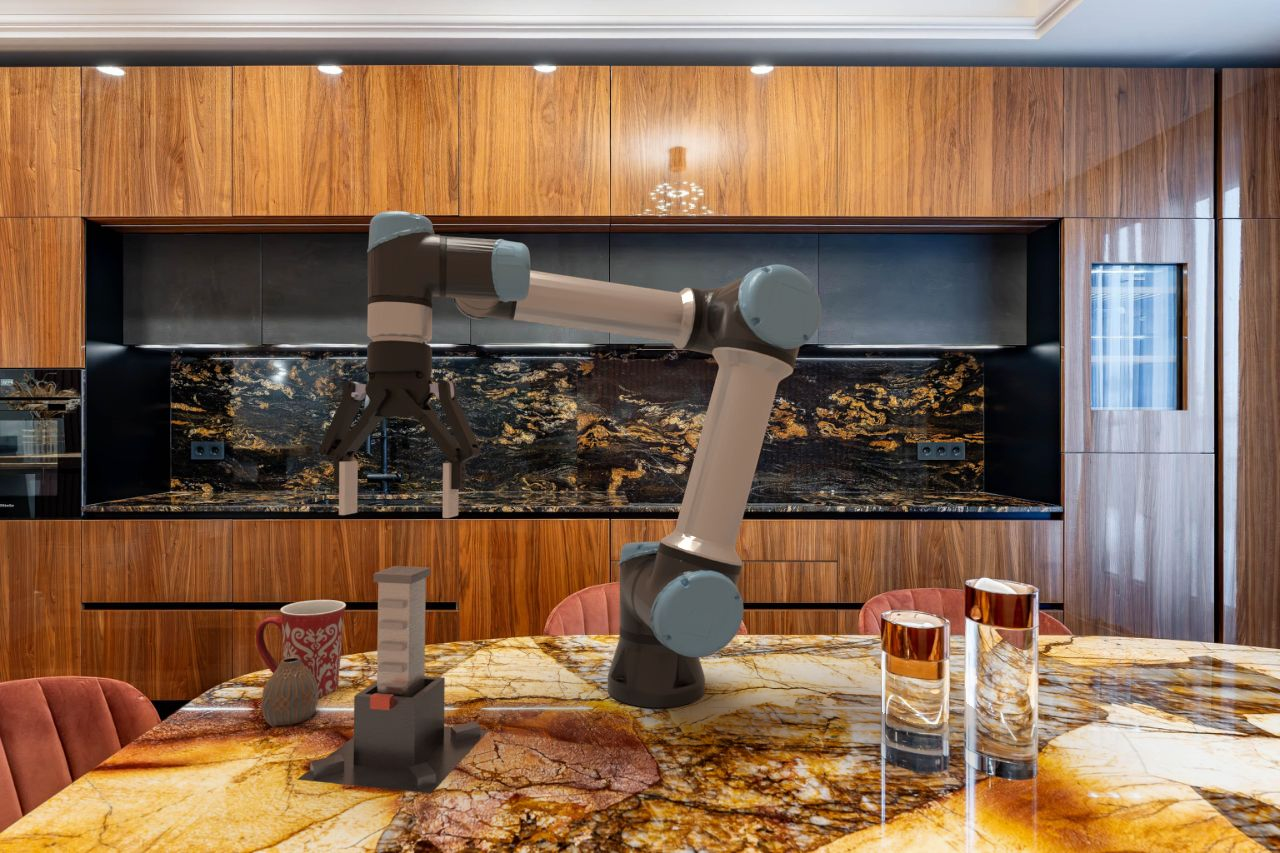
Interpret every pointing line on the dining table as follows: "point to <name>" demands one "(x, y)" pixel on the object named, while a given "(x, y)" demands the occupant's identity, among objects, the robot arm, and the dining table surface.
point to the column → (401, 630)
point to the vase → (289, 694)
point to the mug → (309, 639)
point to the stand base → (398, 742)
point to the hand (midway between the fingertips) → (398, 515)
